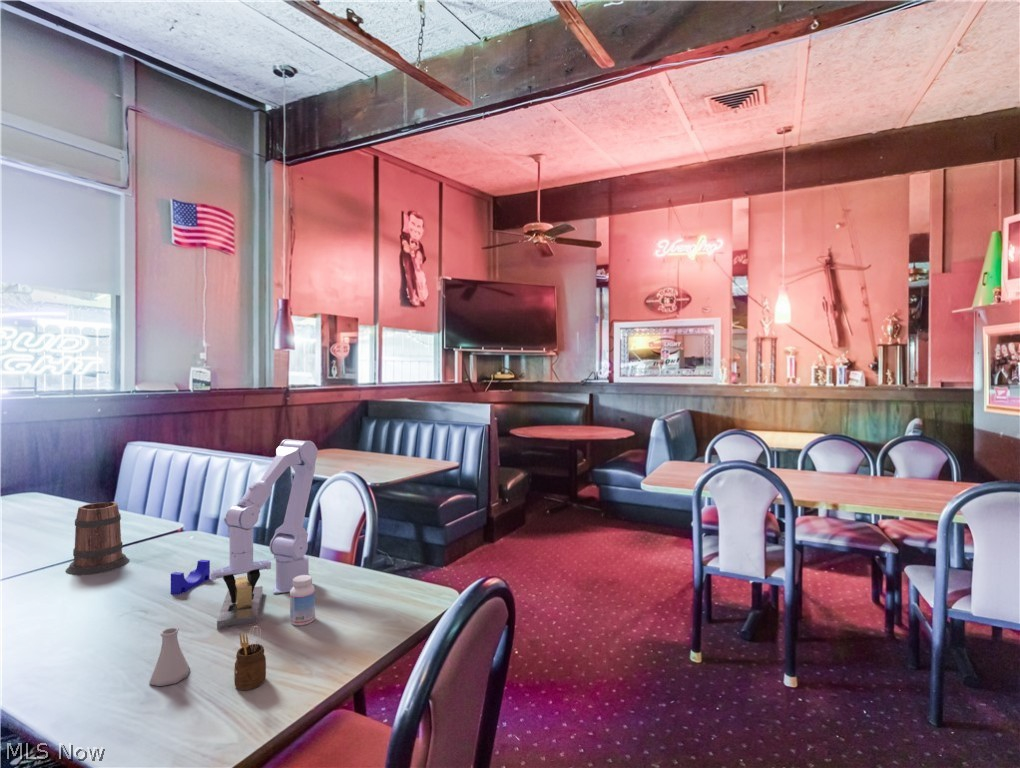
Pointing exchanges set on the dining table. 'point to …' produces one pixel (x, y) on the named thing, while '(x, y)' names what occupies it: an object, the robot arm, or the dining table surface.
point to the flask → (170, 661)
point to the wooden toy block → (243, 593)
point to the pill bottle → (302, 601)
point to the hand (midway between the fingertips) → (241, 600)
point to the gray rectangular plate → (240, 611)
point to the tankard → (97, 540)
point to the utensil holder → (249, 665)
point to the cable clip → (190, 578)
